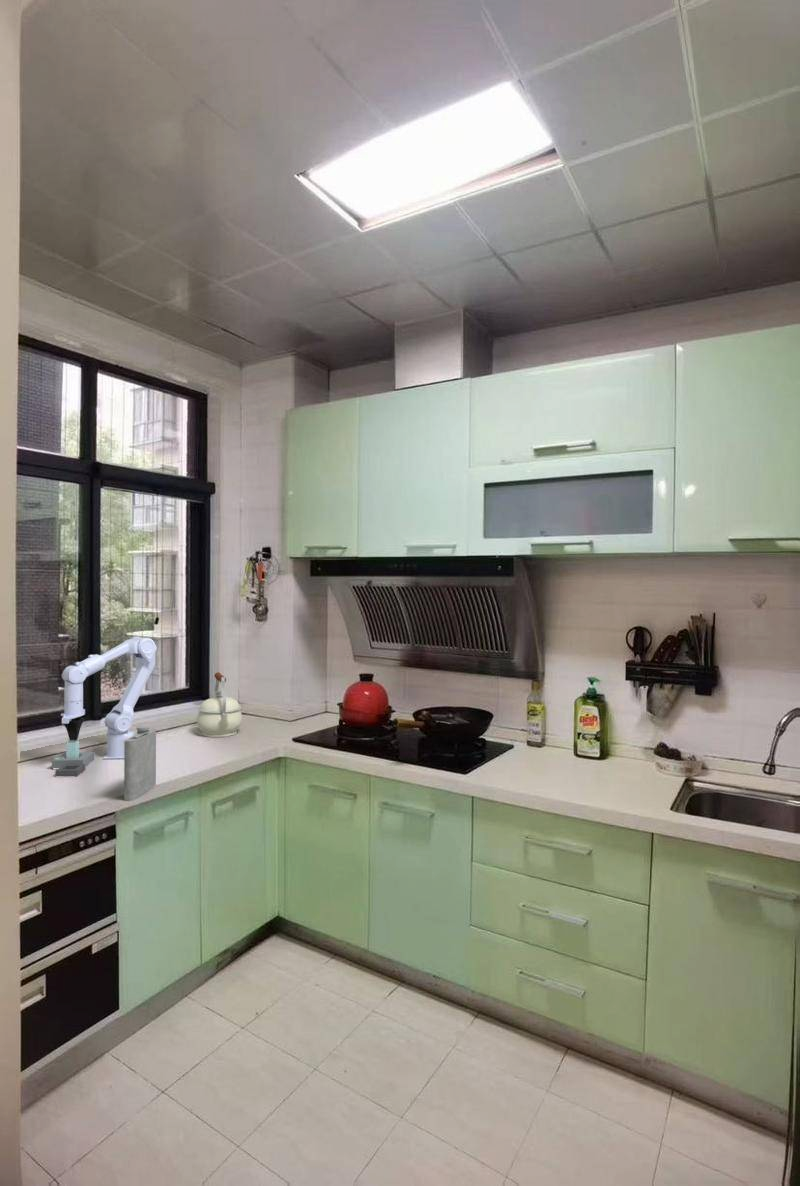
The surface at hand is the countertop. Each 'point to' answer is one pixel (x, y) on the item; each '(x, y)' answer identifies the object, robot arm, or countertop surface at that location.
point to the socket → (73, 759)
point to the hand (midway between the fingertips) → (73, 739)
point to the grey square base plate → (70, 770)
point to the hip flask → (139, 763)
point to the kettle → (219, 713)
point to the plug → (72, 749)
